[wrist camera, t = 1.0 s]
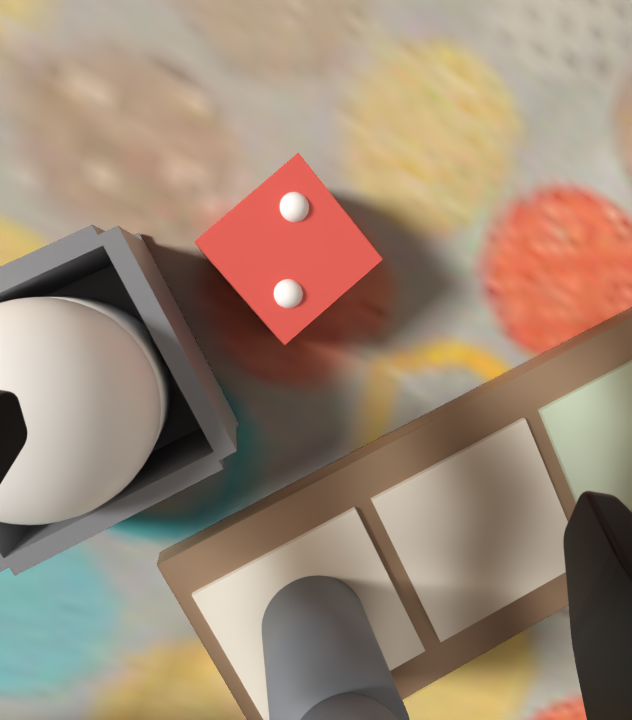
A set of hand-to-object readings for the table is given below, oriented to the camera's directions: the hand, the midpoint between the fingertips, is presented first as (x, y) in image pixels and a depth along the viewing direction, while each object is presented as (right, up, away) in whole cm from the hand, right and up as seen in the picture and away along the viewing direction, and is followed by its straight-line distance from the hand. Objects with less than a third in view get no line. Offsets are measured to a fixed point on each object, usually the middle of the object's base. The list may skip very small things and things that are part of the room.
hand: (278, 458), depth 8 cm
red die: (-1, +5, +11) cm, 13 cm away
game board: (+7, -5, +14) cm, 16 cm away
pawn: (+1, -9, +12) cm, 15 cm away
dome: (-7, +1, +9) cm, 11 cm away
